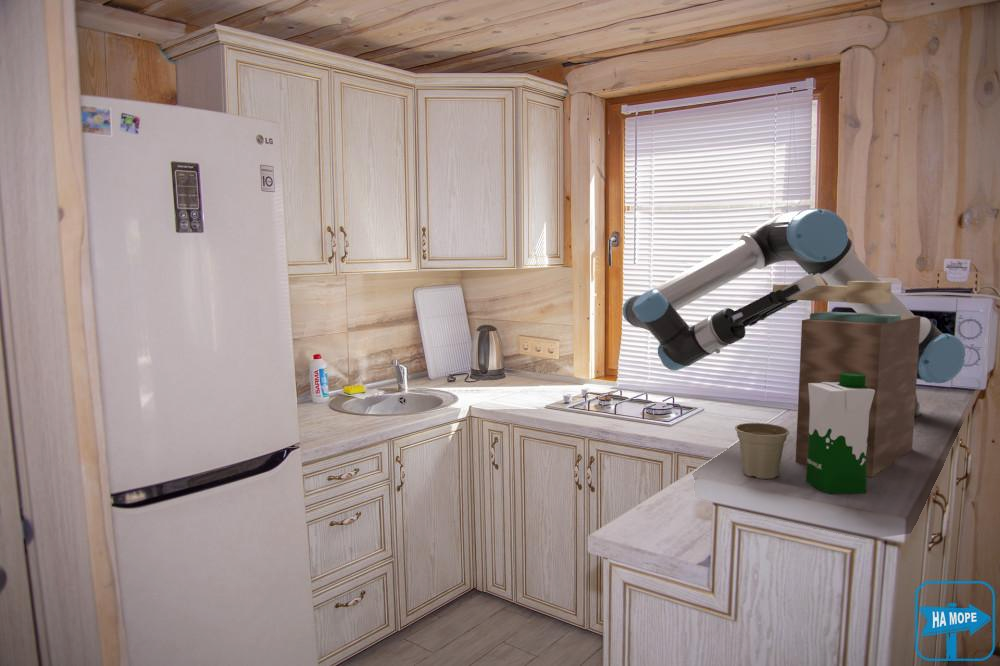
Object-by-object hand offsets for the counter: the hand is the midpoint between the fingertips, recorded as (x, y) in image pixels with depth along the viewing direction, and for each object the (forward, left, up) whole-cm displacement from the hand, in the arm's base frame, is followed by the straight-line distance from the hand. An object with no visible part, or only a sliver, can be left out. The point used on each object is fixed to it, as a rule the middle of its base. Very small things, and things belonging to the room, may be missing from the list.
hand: (818, 279), depth 142 cm
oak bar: (-1, +2, -4) cm, 5 cm away
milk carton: (+10, +19, -36) cm, 42 cm away
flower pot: (+18, +9, -36) cm, 41 cm away
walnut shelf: (-8, +4, -36) cm, 37 cm away
